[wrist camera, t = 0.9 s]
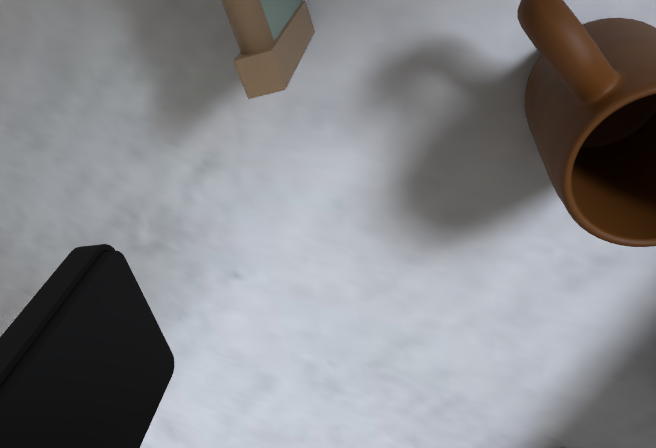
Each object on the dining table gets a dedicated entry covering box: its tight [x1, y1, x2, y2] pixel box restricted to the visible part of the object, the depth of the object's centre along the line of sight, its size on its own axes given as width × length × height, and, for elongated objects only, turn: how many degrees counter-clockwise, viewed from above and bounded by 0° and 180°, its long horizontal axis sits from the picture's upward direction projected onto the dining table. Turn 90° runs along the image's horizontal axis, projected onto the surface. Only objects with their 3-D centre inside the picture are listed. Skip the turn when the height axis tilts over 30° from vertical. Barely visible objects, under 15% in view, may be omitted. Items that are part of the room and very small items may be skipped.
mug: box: [518, 0, 656, 247], centre depth 26 cm, size 12×8×9 cm, turn 44°
